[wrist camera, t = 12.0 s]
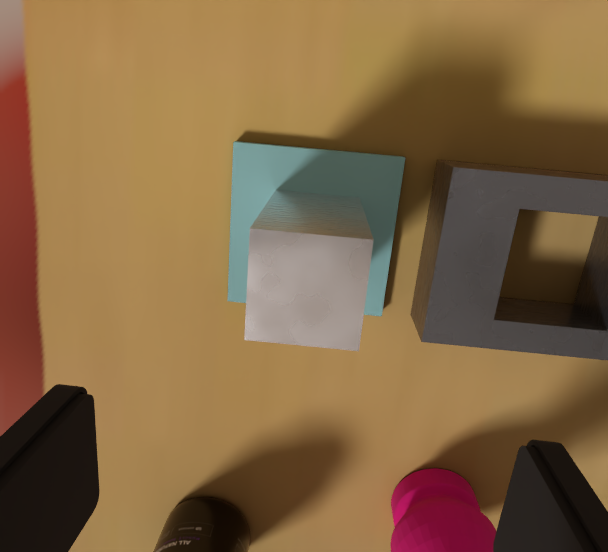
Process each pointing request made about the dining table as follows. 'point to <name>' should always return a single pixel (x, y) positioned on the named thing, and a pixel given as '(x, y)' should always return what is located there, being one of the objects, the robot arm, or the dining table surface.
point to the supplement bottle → (204, 528)
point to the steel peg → (308, 271)
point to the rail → (493, 259)
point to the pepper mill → (438, 515)
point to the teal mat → (321, 180)
